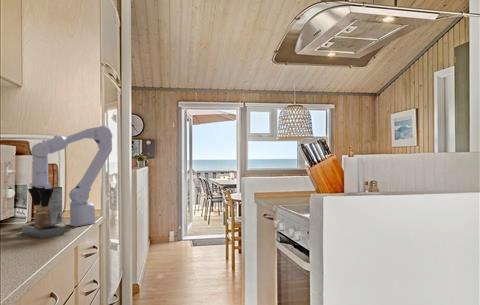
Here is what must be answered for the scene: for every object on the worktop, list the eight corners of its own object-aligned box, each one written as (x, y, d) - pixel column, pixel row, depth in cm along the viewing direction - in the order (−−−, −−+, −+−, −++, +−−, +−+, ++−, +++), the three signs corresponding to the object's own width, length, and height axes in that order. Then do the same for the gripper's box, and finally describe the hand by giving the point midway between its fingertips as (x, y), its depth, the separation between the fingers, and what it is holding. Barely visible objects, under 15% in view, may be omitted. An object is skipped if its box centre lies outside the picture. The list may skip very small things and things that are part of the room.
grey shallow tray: (43, 229, 148) (43, 222, 148) (63, 234, 137) (63, 226, 137) (22, 233, 142) (22, 225, 142) (41, 238, 131) (40, 230, 131)
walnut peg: (44, 232, 142) (44, 212, 142) (48, 234, 139) (48, 212, 139) (34, 234, 139) (34, 213, 139) (38, 235, 137) (38, 214, 137)
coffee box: (35, 224, 161) (35, 187, 161) (47, 221, 167) (47, 186, 167) (51, 225, 158) (51, 187, 158) (63, 222, 164) (62, 186, 164)
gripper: (22, 172, 151) (23, 205, 151) (37, 173, 142) (37, 208, 142) (40, 171, 157) (41, 203, 156) (56, 172, 147) (56, 206, 147)
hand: (40, 205), depth 149 cm, fingers open, 7 cm apart
